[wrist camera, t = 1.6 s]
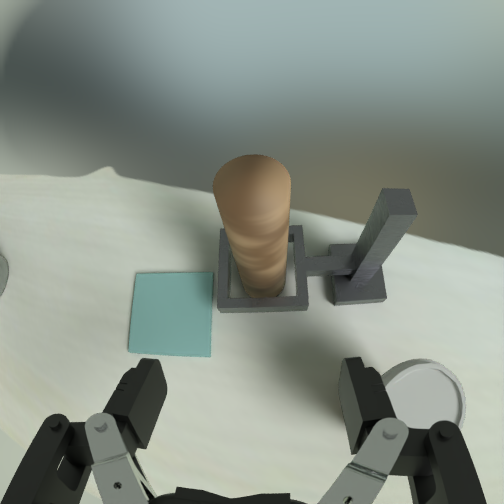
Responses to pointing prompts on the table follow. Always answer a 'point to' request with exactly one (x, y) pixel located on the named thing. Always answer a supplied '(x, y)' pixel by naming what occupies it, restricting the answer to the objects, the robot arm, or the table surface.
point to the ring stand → (332, 261)
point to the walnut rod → (256, 220)
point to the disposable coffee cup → (425, 393)
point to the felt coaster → (172, 314)
